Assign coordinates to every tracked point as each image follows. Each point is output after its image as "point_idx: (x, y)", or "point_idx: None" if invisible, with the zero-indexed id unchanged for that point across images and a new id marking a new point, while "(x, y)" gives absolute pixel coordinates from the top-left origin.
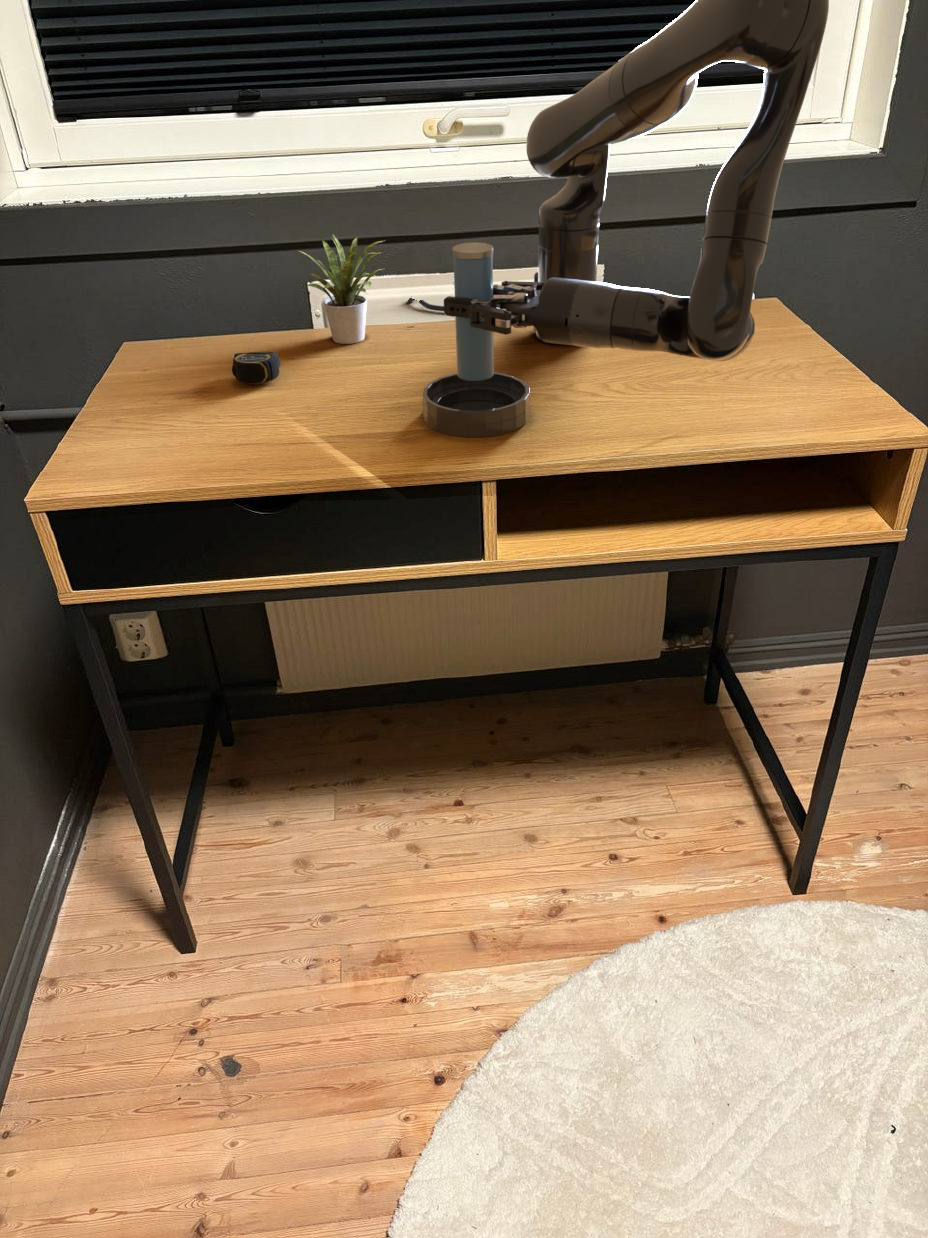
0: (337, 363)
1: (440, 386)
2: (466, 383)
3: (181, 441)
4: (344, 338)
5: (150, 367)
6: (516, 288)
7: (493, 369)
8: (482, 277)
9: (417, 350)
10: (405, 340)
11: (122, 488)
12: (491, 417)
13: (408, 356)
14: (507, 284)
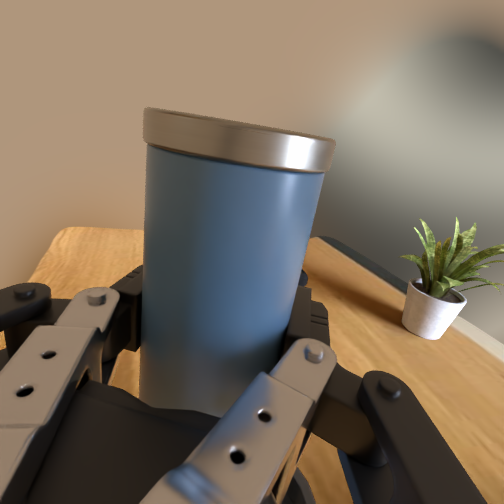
0: (348, 325)
1: None
2: (290, 497)
3: None
4: (405, 321)
5: None
6: (217, 438)
7: None
8: (150, 237)
9: (449, 397)
10: (468, 378)
11: (58, 245)
12: None
13: (420, 388)
14: (366, 397)
